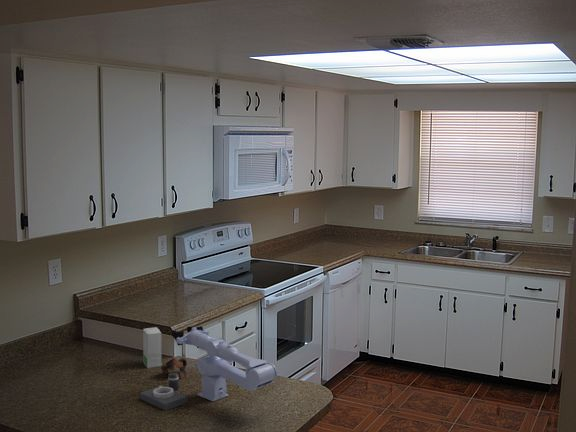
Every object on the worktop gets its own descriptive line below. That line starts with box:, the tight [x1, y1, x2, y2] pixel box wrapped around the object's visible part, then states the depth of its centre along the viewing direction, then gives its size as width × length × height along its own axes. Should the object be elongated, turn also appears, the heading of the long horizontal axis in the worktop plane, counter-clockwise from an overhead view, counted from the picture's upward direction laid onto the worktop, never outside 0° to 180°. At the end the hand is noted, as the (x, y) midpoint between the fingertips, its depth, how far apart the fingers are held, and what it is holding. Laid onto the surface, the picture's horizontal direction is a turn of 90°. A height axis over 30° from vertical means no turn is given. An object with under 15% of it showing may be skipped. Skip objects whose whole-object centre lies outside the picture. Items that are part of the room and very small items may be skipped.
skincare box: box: [142, 326, 162, 369], centre depth 294 cm, size 8×7×16 cm
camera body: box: [139, 385, 188, 411], centre depth 254 cm, size 16×10×4 cm, turn 46°
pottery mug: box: [160, 357, 188, 380], centre depth 282 cm, size 12×10×8 cm
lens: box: [167, 372, 180, 392], centre depth 266 cm, size 4×4×6 cm
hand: (180, 331), depth 270 cm, fingers open, 7 cm apart
